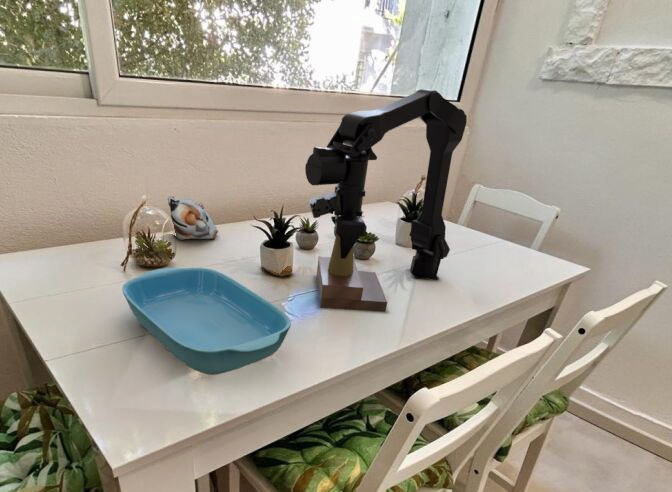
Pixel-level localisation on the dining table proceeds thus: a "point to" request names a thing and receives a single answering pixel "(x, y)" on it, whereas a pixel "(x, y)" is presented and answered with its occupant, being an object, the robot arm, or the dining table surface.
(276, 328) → the casserole dish
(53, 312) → the dining table surface
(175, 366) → the dining table surface
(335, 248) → the olive green pawn
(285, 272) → the pastry
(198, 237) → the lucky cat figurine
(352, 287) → the shelf
